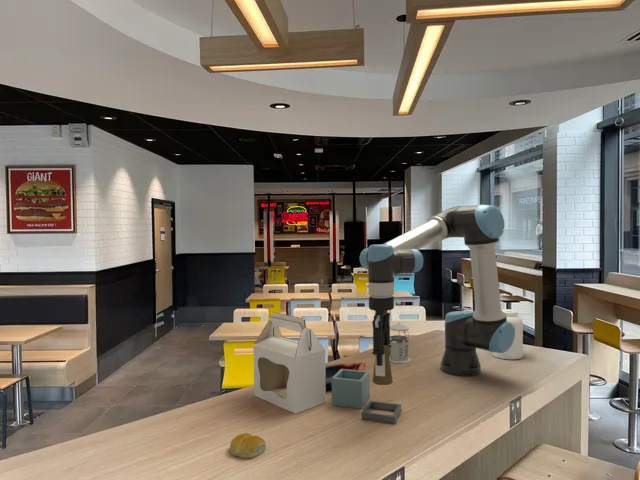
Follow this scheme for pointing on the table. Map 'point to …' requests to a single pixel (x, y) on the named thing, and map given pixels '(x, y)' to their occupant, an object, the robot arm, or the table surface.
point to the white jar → (517, 344)
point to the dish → (334, 368)
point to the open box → (350, 388)
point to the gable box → (289, 365)
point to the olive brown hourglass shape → (388, 376)
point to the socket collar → (381, 417)
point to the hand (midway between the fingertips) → (382, 372)
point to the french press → (399, 344)
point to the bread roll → (247, 446)
